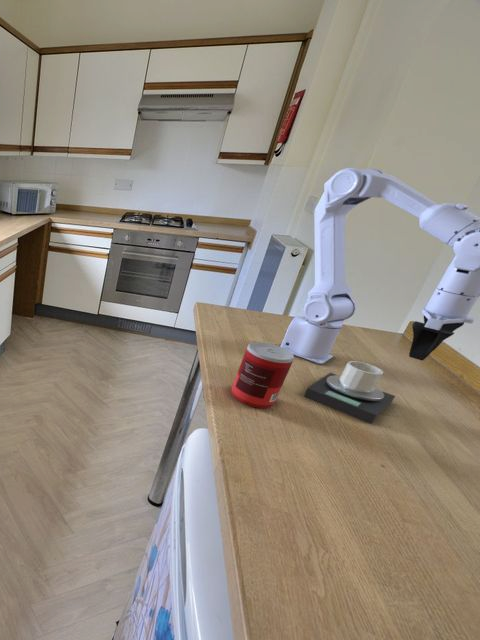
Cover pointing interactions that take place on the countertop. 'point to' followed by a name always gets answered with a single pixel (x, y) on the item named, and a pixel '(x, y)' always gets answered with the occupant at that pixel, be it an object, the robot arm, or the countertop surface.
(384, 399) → the scale
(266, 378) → the canned food
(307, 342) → the robot arm
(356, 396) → the scale pan
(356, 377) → the cup
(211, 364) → the countertop surface
